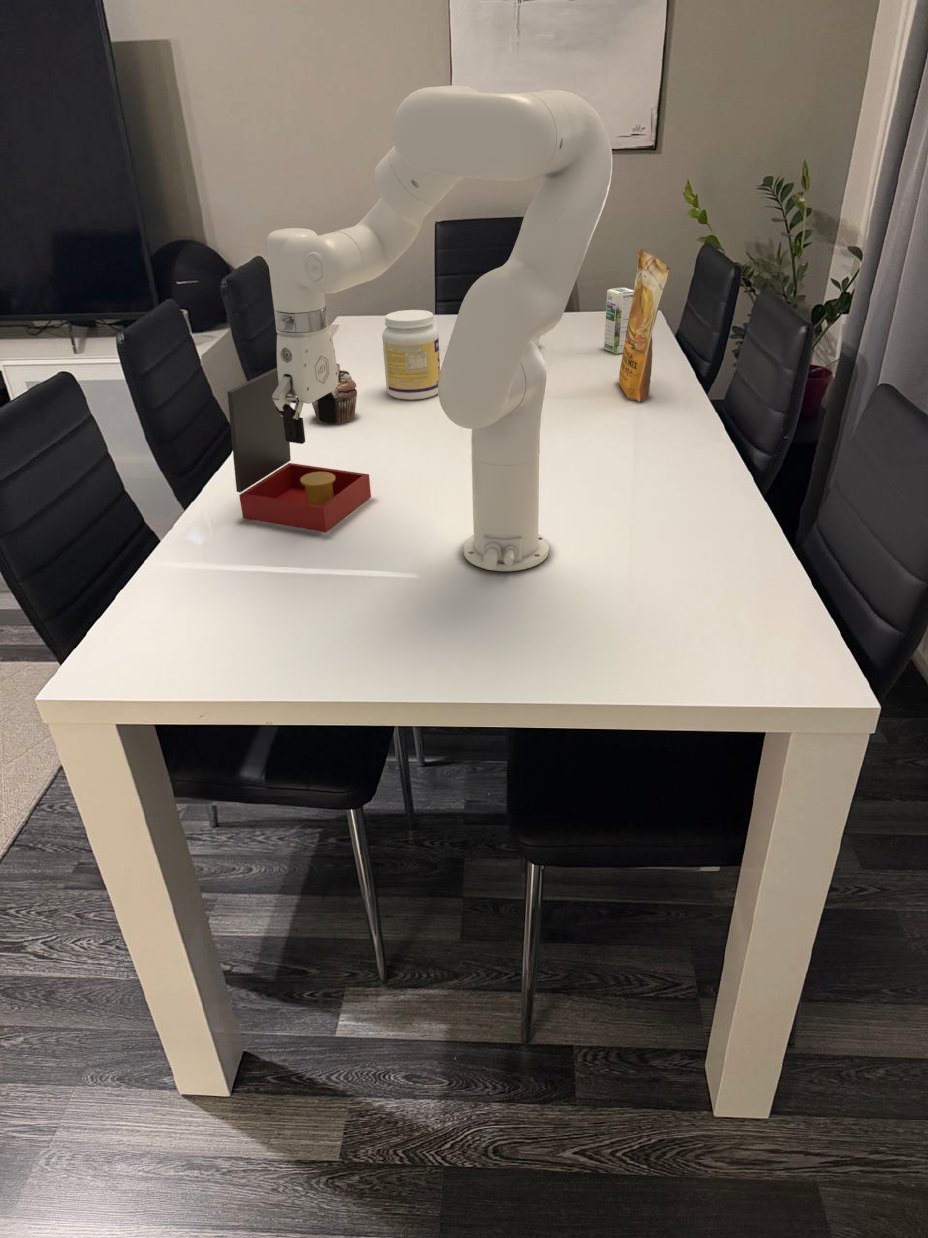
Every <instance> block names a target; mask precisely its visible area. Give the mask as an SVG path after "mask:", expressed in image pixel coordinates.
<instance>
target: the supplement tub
mask: <svg viewBox="0 0 928 1238" xmlns="http://www.w3.org/2000/svg"><path fill="white" fill-rule="evenodd" d="M384 318H385V319H384V320H385V321H384V325H385V326H386V327H385V328H384V330H383V332H382V335H381V337H382V338H381V339H382V349H383V364H384V374H385V387H386V393H388V395H389V396H391V397H393V398H395V399H399V400H407V401H408V400H411V401H413V400H415V401H416V400H423V399H427V398H432V397H434V396H436V395H437V394H438V381H439V375H440V371H441V360H440V359H441V358H440V357H441V356H440V340H439V339H440V338H439V331H438V328H437V327H436V326H435V325H434V323H435V319H434V313H433V312H431V311H429V310H424V309H406V310H396V311H392V312H389V313H387V314H385V316H384Z"/></svg>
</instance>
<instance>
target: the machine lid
mask: <svg viewBox="0 0 928 1238" xmlns="http://www.w3.org/2000/svg"><path fill="white" fill-rule="evenodd" d="M278 385H279V382H278V371H277V367H275V368H273V369H271V370H269V371H267V372H264V373H262V374H261V375H259V376H257V377H254V378H252V379H250V380H248V381H246V382H244V383H242V384H240V385H238V386H236V387H234V388H231V389H229V390H227V392H226V393H227V403H228V404H227V405H228V414H229V415H228V416H229V426H230V434H231V435H230V436H231V446H232V447H231V448H232V456H233V457H232V458H233V468H234V477H235V479H234V480H235V488H236V489H235V490H236V492H237V493H240V494H241V493H243V492H245V491H246V490H248V489H249V488H251V487H252V486H254V485H256V484H257V483H259V482H260V481H262V480H263V479H265V478H266V477H268V476H270V475H271V474H273V473H274V472H276V471H277V470H279V469H280V468H282V467H284V466H285V465H287V464H288V463H290V462H291V461H292V460H291V442H287V441H286V438H285V430H284V421H283V417H281V416H280V413H279V412H278V411H277V409H276V405H275V403H274V401H273V399H272V395H273V393H274V392H275V390H276V388H277V387H278Z"/></svg>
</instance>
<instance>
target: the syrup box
mask: <svg viewBox="0 0 928 1238" xmlns="http://www.w3.org/2000/svg"><path fill="white" fill-rule="evenodd" d="M633 292H634V289H631V288H627V287H613V288H610V289H607V291H606V305H605V307H606V308H605V324H604V342H603V350H605V351H608V352H610V353H613V354H615V355H619V354H623V350H624V344H625V338H626V332H627V325H628V320H629V315H630V311H631V306H632V301H633Z"/></svg>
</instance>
